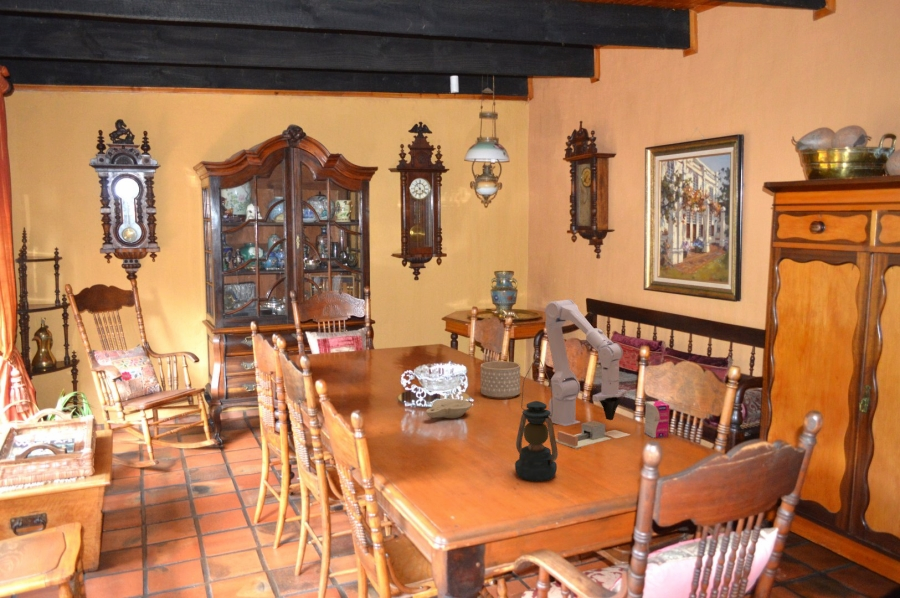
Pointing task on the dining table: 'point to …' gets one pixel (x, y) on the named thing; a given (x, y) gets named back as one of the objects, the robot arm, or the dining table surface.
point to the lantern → (536, 442)
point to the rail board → (577, 439)
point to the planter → (500, 379)
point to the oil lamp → (448, 408)
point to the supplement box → (656, 419)
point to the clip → (593, 429)
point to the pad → (616, 434)
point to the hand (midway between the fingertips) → (609, 419)
